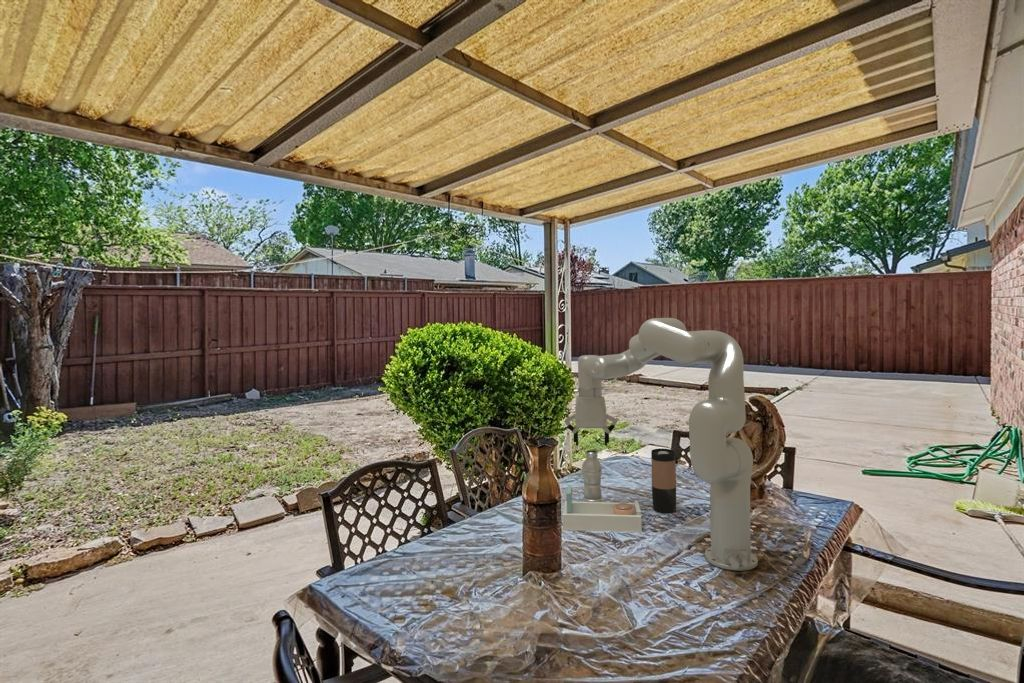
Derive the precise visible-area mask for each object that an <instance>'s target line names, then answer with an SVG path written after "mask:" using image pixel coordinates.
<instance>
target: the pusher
mask: <svg viewBox="0 0 1024 683" xmlns="http://www.w3.org/2000/svg"><path fill="white" fill-rule="evenodd" d="M572 487H573V486H572V484H567V488H566V501H567V514H572V502H573V493H572V492H573V488H572Z"/></svg>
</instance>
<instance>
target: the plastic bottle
mask: <svg viewBox="0 0 1024 683" xmlns="http://www.w3.org/2000/svg"><path fill="white" fill-rule="evenodd" d="M598 457H599V456H598V451H597V450H595V449H589V450H586V451H585V460H584V461H583V463H582V465H581V472H582V476H583V487H584V488H583V499H582V502H604V500H603V495H602V485H601V484H602V483H601V479H602V471H603V467H602V464H601V461H599V459H598Z"/></svg>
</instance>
